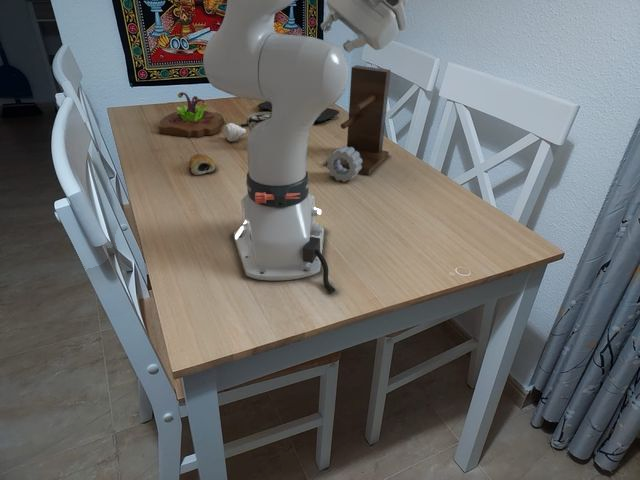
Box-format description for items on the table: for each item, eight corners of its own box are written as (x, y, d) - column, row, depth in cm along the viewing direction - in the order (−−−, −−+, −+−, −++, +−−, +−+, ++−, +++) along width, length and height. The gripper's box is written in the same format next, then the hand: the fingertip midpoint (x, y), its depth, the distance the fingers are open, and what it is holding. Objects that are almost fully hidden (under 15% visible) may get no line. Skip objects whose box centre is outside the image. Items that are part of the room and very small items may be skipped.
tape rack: (368, 175, 120) (376, 83, 107) (326, 165, 125) (330, 76, 111) (388, 156, 131) (397, 70, 118) (349, 148, 136) (354, 64, 123)
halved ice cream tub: (292, 144, 137) (292, 112, 131) (289, 152, 132) (288, 119, 126) (252, 142, 138) (250, 110, 132) (247, 150, 133) (245, 116, 127)
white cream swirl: (249, 141, 139) (248, 123, 136) (231, 144, 136) (229, 126, 133) (243, 135, 143) (241, 118, 140) (225, 138, 140) (223, 121, 137)
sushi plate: (342, 116, 161) (343, 105, 159) (291, 140, 140) (291, 128, 138) (279, 101, 174) (278, 91, 172) (224, 121, 153) (223, 110, 151)
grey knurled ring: (354, 184, 115) (357, 154, 111) (326, 177, 118) (327, 148, 114) (361, 178, 118) (363, 149, 114) (333, 172, 121) (334, 143, 117)
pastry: (186, 162, 124) (184, 149, 122) (211, 159, 126) (209, 146, 124) (192, 176, 117) (190, 162, 115) (218, 173, 119) (216, 159, 117)
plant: (172, 115, 157) (167, 83, 151) (228, 117, 156) (225, 85, 150) (152, 136, 140) (145, 100, 134) (214, 138, 140) (210, 102, 134)
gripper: (351, -33, 103) (305, 7, 104) (406, 7, 93) (354, 50, 94) (359, -10, 109) (315, 28, 110) (411, 30, 99) (362, 71, 100)
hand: (333, 39), depth 102 cm, fingers open, 8 cm apart
